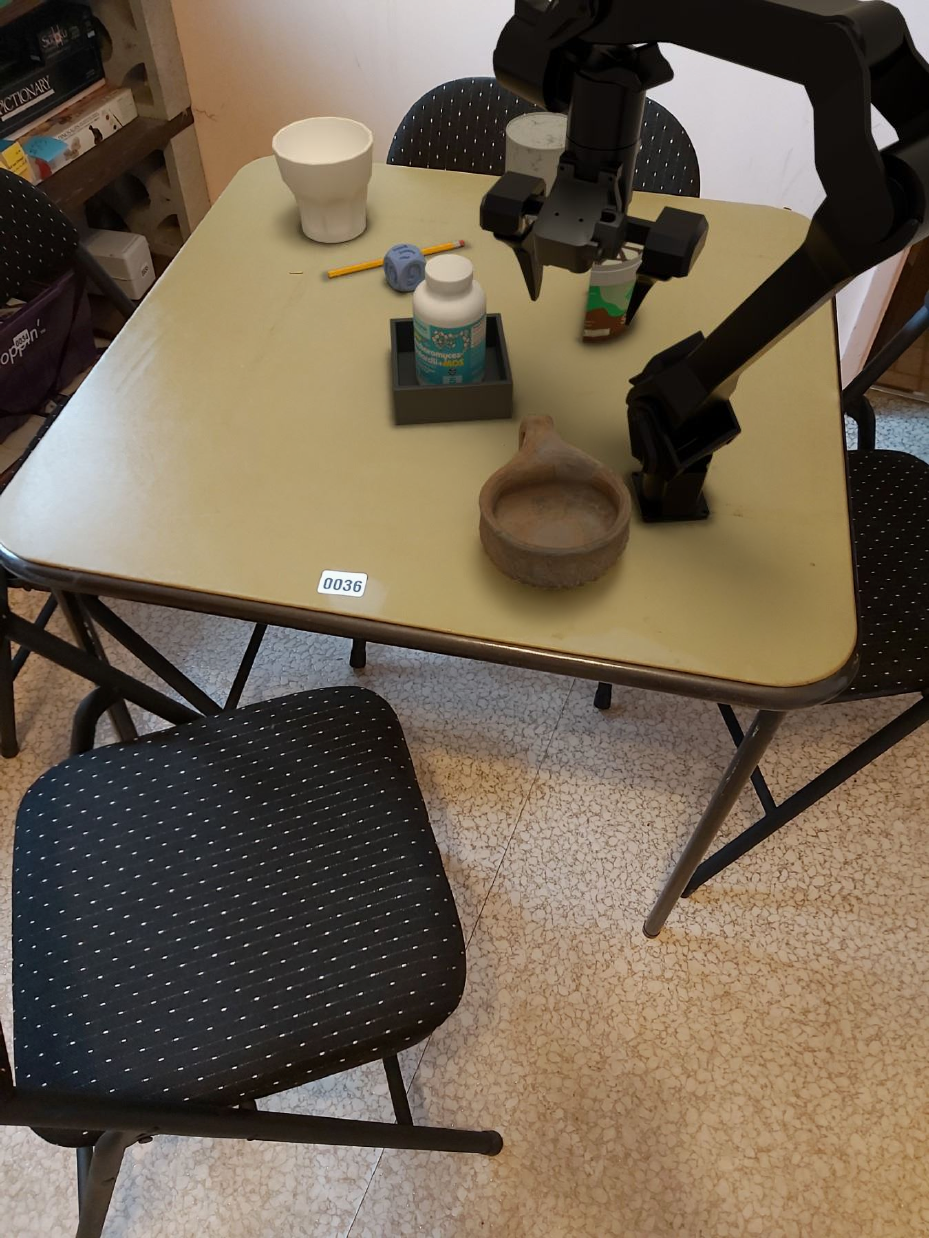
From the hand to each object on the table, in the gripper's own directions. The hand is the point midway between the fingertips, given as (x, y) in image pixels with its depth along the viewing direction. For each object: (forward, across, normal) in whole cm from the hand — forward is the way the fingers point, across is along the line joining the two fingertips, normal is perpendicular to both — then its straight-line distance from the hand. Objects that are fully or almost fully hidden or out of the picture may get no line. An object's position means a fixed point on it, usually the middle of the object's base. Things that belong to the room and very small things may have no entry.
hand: (581, 311), depth 78 cm
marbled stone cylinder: (+13, -17, +34) cm, 40 cm away
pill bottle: (+13, -14, 0) cm, 19 cm away
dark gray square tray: (+13, -14, 0) cm, 19 cm away
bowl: (+13, +4, -16) cm, 21 cm away
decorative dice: (+13, -27, +15) cm, 34 cm away
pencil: (+13, -31, +19) cm, 39 cm away
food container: (+13, -2, +19) cm, 23 cm away
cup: (+13, -42, +23) cm, 50 cm away
